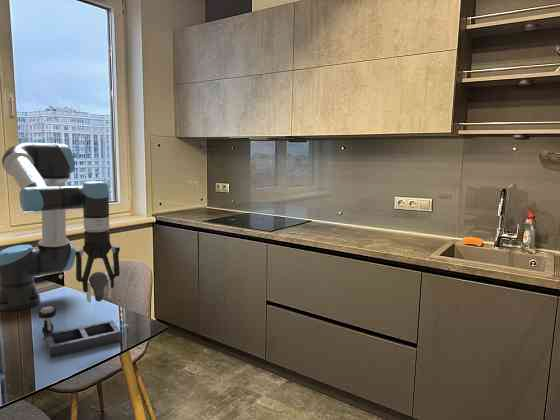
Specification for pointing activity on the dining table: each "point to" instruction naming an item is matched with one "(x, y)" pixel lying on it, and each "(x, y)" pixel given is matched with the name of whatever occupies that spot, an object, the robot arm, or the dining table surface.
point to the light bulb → (98, 284)
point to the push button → (47, 319)
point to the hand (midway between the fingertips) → (99, 299)
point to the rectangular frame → (82, 338)
